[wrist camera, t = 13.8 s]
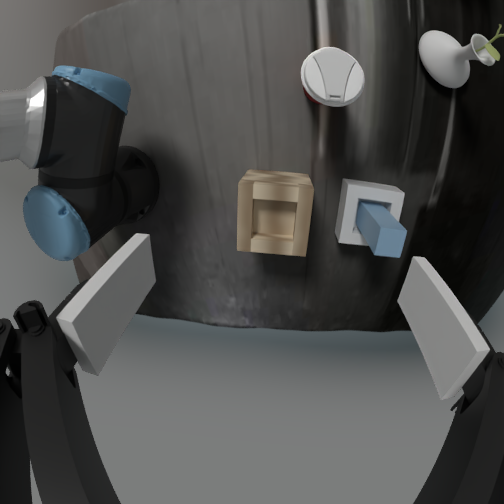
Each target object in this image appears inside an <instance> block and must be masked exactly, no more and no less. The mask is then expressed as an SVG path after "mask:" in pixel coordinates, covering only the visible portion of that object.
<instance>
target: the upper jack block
mask: <svg viewBox="0 0 504 504" xmlns="http://www.w3.org/2000/svg"><path fill="white" fill-rule="evenodd" d="M313 194H314V188H313V185H312V183H311V180H310V178H309V175H308V174H301V173H290V172H278V171H265V170H248V171H247V172H246V174H245V175H244V176H243V178H242V179H241V180H240V182H239V183H238V221H237V251H248V252H259V253H270V254H282V255H293V256H304V257H306V250H307V243H308V235H309V228H310V220H311V212H312V203H313Z"/></svg>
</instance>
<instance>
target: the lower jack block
mask: <svg viewBox="0 0 504 504" xmlns="http://www.w3.org/2000/svg"><path fill="white" fill-rule="evenodd" d="M404 194H405V193H404V192H402V191H401V190H400V189H398V188H397V187H395V186H390V185H384V184H378V183H372V182H366V181H359V180H352V179H344V178H343V180H342V188H341V195H340V202H339V209H338V215H337V221H336V228H335V234H336V237H337V239H338V242H339V243H346V244H356V245H366V246H369V245H368V243H367V241H366V239H365V238H364V236H363V234H362V233H361V231H360V229H359V228H358V226H357V224H356V217H357V212H358V206H359V201H366V202H374V203H380V204H382V205H383V206H384V207H385V208H386V209H387V210H388V211H389V212H390V213H391V214H392V215H393V216H394V218H395V219H396V220H397V221H398V222H399V218H400V214H401V209H402V204H403V200H404Z"/></svg>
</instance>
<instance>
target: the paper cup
mask: <svg viewBox="0 0 504 504" xmlns="http://www.w3.org/2000/svg"><path fill="white" fill-rule="evenodd" d="M301 80H302V83H303V89H304V93H305V95H306V96H307V97H308V99H310V100H311V101H312V102H314V103H317V104H324V105H327V106H333V107H340V106H345V105H348V104H351V103H352V102H354V101H355V100H356V99H357V98H358V97H359V96H360V95H361V93H362V91H363V88H364V74H363V71H362V68H361V66H360V65H359V63H358V62H357V61H356V60H355V59H354V58H353V57H352V56H351V55H349V54H348V53H346V52H344V51H342V50H340V49H338V48H334V47H323V48H321V49H319V50H317V51H314V52H313V53H311V54H310V55H309V56H308V57H307V58H306V59H305V61H304V63H303V65H302V68H301Z"/></svg>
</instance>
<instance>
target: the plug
mask: <svg viewBox="0 0 504 504" xmlns="http://www.w3.org/2000/svg"><path fill="white" fill-rule="evenodd" d="M356 224H357V226H358V228H359V229H360V231H361V233H362V234H363V236H364V238H365V239H366V241H367V243H368V245H369V246H370V248H371V250H372V252H373V253H374V255H378V256H381V257H399V258H400V255H401V252H402V248H403V245H404V241H405V237H406V233H407V230H406V229H405V228H404V227H403V226H402V225H401V224H400V223H399V222H398V221H397V220H396V219H395V218H394V216H393V215H392V214H391V213H390V212H389V211H388V210H387V209H386V208H385V207H384V206H383V205H382V204H380V203H374V202H366V201H359V206H358V212H357V217H356Z"/></svg>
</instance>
